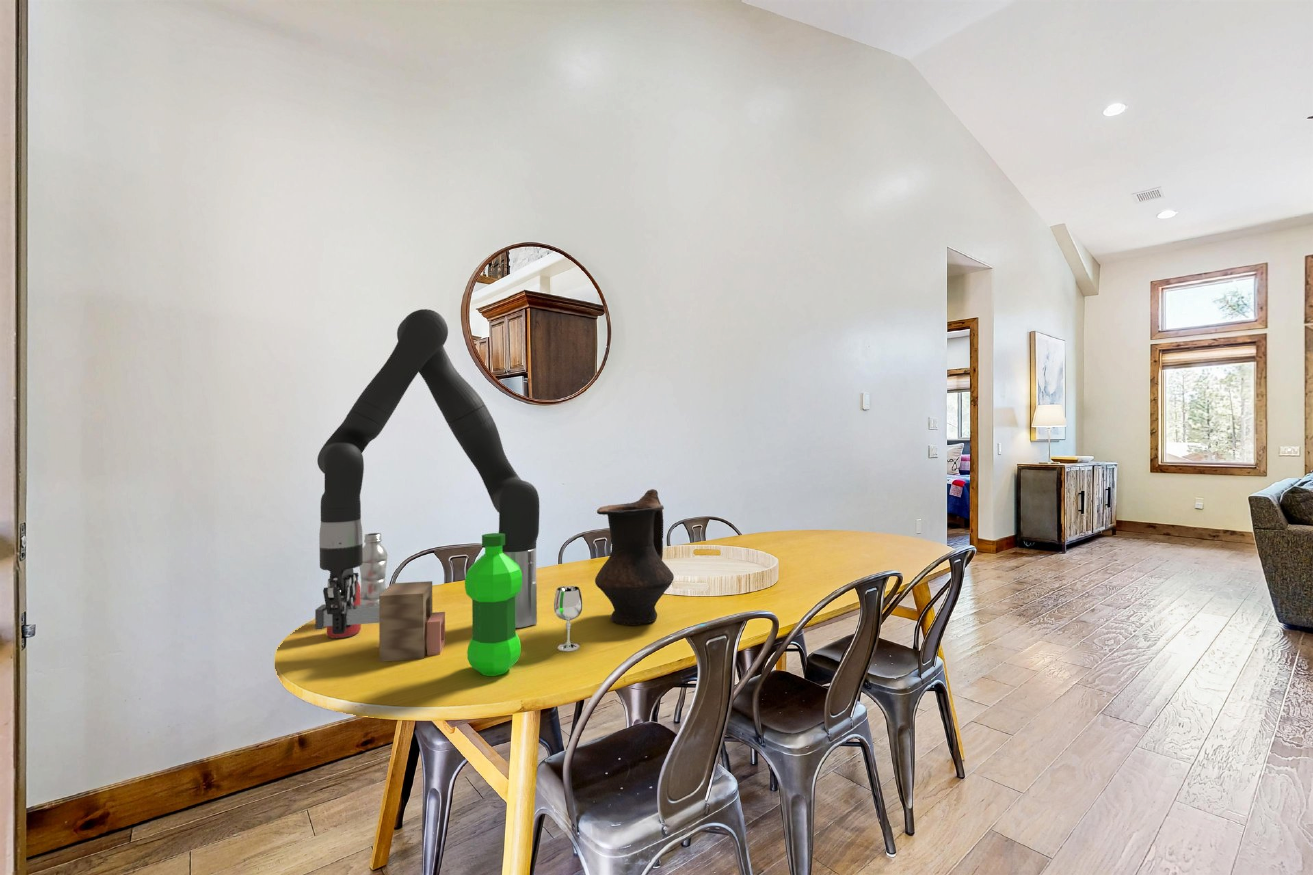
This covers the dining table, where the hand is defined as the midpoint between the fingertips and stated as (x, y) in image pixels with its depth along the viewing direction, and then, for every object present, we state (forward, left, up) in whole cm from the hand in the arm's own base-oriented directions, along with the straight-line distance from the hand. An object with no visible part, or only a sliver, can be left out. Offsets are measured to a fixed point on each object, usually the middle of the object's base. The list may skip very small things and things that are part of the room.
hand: (342, 629), depth 116 cm
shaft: (-5, 0, +1) cm, 5 cm away
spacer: (-18, 0, -5) cm, 18 cm away
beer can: (+4, -14, -5) cm, 16 cm away
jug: (-61, -11, -5) cm, 62 cm away
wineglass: (-44, +5, -5) cm, 45 cm away
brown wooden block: (-12, 0, -5) cm, 13 cm away
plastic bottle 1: (+1, -26, -5) cm, 27 cm away
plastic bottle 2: (-30, +14, -5) cm, 34 cm away
